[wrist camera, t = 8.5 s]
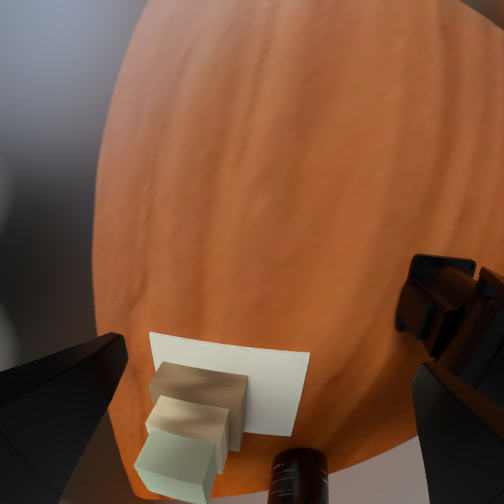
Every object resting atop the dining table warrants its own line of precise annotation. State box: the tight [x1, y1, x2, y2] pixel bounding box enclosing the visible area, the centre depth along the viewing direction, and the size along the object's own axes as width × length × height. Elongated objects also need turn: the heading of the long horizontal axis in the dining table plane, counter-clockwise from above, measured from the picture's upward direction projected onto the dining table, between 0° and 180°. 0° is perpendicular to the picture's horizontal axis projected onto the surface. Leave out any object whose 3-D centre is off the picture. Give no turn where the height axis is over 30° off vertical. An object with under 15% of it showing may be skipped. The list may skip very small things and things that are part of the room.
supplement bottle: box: [267, 448, 329, 504], centre depth 21 cm, size 7×7×12 cm
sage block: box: [134, 429, 217, 504], centre depth 16 cm, size 5×5×4 cm
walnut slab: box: [148, 361, 248, 452], centre depth 23 cm, size 8×8×4 cm
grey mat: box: [149, 332, 310, 436], centre depth 24 cm, size 14×12×1 cm
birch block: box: [145, 395, 230, 474], centre depth 20 cm, size 6×6×4 cm
